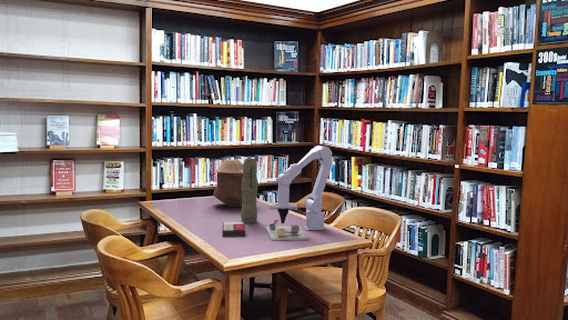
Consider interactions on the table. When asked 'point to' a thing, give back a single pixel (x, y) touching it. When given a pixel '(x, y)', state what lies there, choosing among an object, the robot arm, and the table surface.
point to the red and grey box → (233, 229)
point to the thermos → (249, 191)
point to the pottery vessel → (229, 183)
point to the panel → (286, 233)
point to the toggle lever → (275, 222)
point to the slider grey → (294, 228)
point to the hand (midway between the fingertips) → (282, 223)
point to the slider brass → (281, 232)
